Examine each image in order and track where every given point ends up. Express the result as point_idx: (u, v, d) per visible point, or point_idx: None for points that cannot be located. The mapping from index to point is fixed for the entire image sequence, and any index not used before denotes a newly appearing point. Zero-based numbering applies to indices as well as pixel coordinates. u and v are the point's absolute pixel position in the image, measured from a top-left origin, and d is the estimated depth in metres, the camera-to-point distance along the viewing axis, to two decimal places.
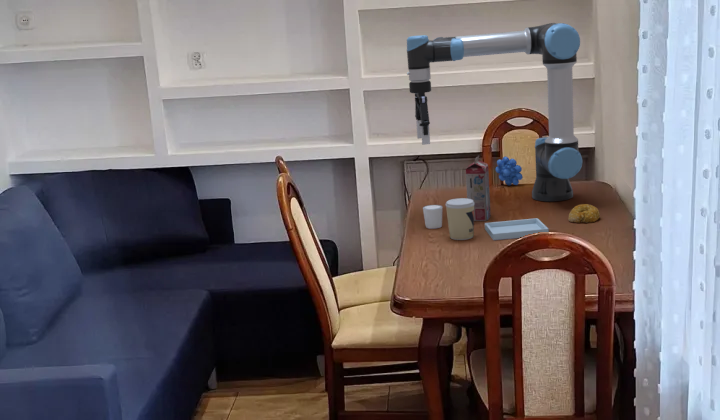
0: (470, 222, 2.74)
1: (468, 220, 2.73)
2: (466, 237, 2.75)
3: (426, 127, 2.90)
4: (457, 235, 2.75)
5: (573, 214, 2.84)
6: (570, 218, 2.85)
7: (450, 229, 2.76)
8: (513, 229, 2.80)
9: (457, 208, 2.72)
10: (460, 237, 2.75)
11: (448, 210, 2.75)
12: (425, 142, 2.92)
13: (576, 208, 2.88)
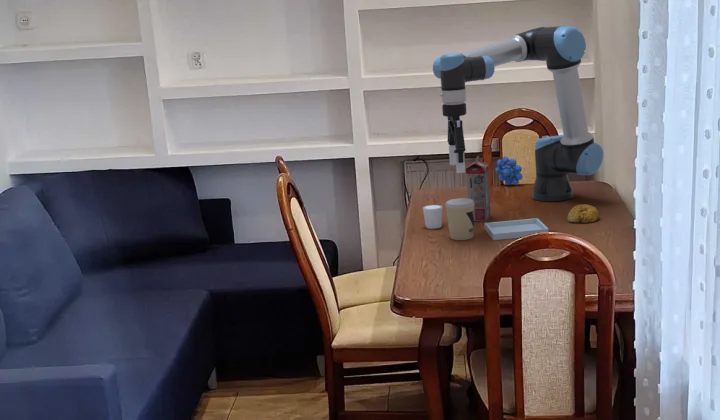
0: (470, 222, 2.74)
1: (468, 220, 2.73)
2: (466, 237, 2.75)
3: (461, 154, 2.64)
4: (457, 235, 2.75)
5: (572, 214, 2.84)
6: (569, 218, 2.84)
7: (450, 229, 2.76)
8: (513, 229, 2.80)
9: (457, 208, 2.72)
10: (460, 237, 2.75)
11: (448, 210, 2.75)
12: (460, 170, 2.66)
13: (575, 208, 2.87)
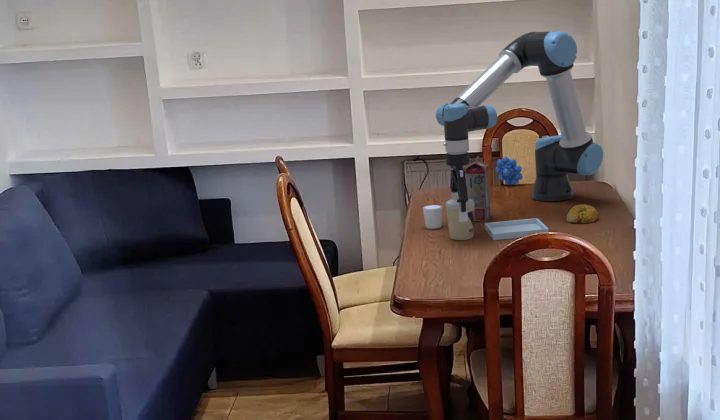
0: (470, 222, 2.74)
1: (468, 220, 2.73)
2: (466, 237, 2.75)
3: (464, 203, 2.67)
4: (457, 235, 2.75)
5: (571, 214, 2.84)
6: (568, 218, 2.84)
7: (450, 229, 2.76)
8: (513, 229, 2.80)
9: (457, 208, 2.72)
10: (460, 237, 2.75)
11: (448, 210, 2.75)
12: (462, 219, 2.70)
13: (574, 208, 2.87)
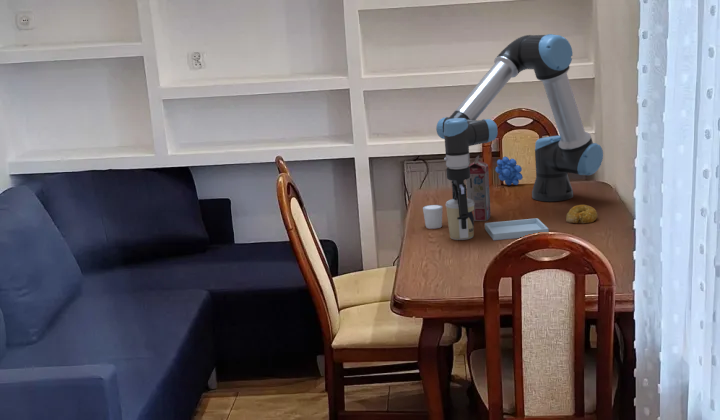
0: (470, 222, 2.74)
1: (468, 220, 2.73)
2: None
3: (464, 221, 2.71)
4: (457, 235, 2.75)
5: (571, 215, 2.84)
6: (568, 219, 2.84)
7: (450, 229, 2.76)
8: (513, 229, 2.80)
9: (457, 208, 2.72)
10: None
11: (448, 210, 2.75)
12: (463, 236, 2.73)
13: (574, 209, 2.87)
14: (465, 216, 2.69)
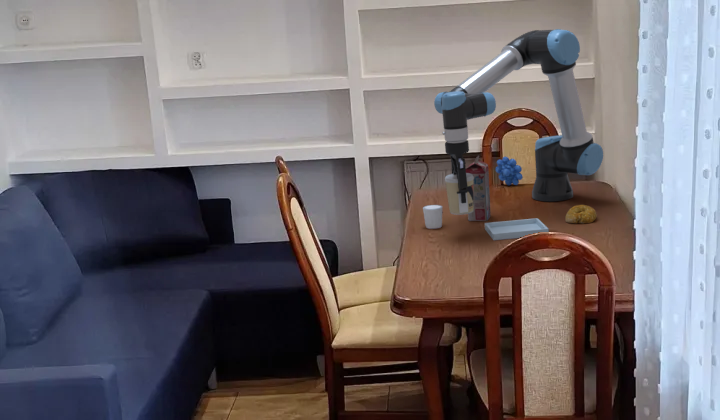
0: (470, 197, 2.72)
1: (468, 194, 2.72)
2: None
3: (464, 195, 2.69)
4: (456, 209, 2.73)
5: (570, 215, 2.84)
6: (567, 219, 2.84)
7: (450, 204, 2.75)
8: (513, 229, 2.80)
9: (456, 182, 2.70)
10: None
11: (447, 185, 2.73)
12: (463, 210, 2.72)
13: (573, 209, 2.87)
14: (464, 190, 2.67)
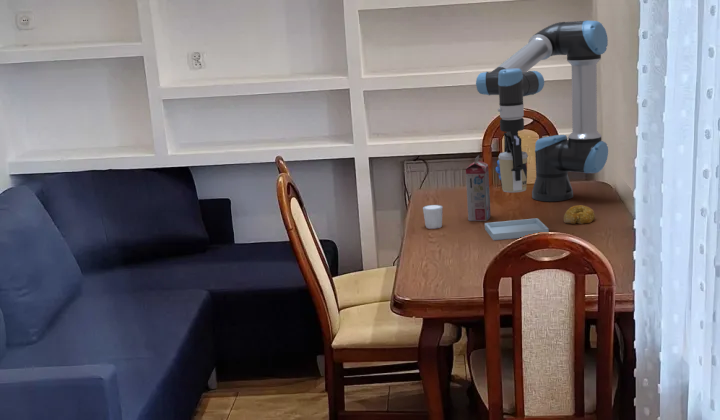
0: (524, 174, 2.71)
1: (522, 172, 2.70)
2: None
3: (519, 172, 2.68)
4: (510, 187, 2.72)
5: (568, 215, 2.83)
6: (565, 219, 2.84)
7: (503, 182, 2.73)
8: (513, 229, 2.80)
9: (511, 159, 2.68)
10: None
11: (501, 162, 2.71)
12: (517, 188, 2.70)
13: (571, 209, 2.87)
14: (520, 167, 2.66)
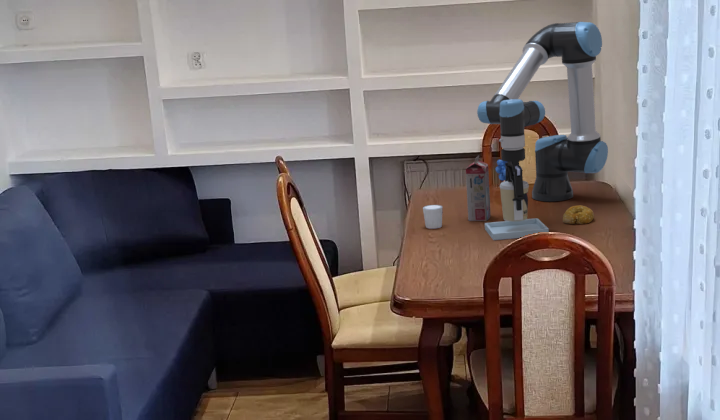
0: (525, 204, 2.73)
1: (523, 202, 2.72)
2: None
3: (520, 202, 2.70)
4: (511, 216, 2.74)
5: (567, 215, 2.83)
6: (564, 219, 2.83)
7: (504, 211, 2.75)
8: (513, 229, 2.80)
9: (512, 189, 2.71)
10: None
11: (502, 192, 2.74)
12: (518, 217, 2.72)
13: (570, 209, 2.86)
14: (521, 197, 2.68)
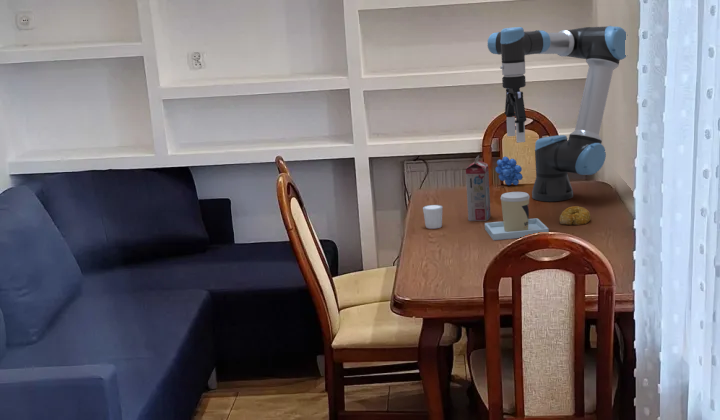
0: (526, 216, 2.74)
1: (524, 213, 2.73)
2: (521, 230, 2.75)
3: (522, 124, 2.75)
4: (512, 228, 2.75)
5: (564, 216, 2.83)
6: (561, 220, 2.83)
7: (505, 222, 2.76)
8: None
9: (513, 201, 2.72)
10: (516, 230, 2.75)
11: (503, 203, 2.75)
12: (520, 140, 2.77)
13: (567, 210, 2.86)
14: (523, 119, 2.73)
